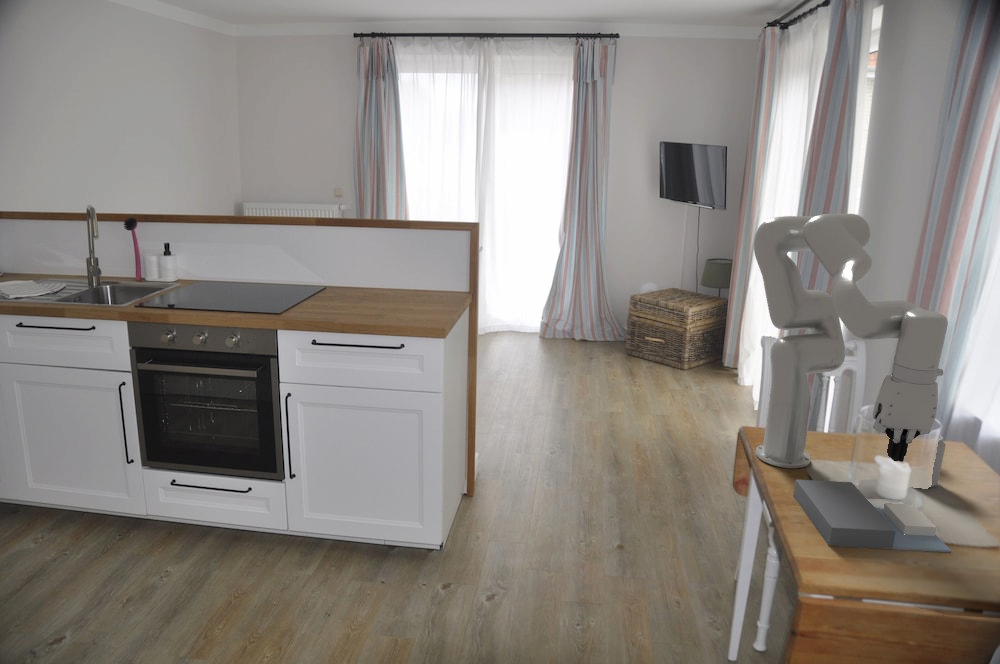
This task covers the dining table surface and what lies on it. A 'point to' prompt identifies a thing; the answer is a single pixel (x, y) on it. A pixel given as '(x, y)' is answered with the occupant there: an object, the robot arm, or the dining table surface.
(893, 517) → the tile
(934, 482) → the can
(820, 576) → the dining table surface
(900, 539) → the mat
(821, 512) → the panel
